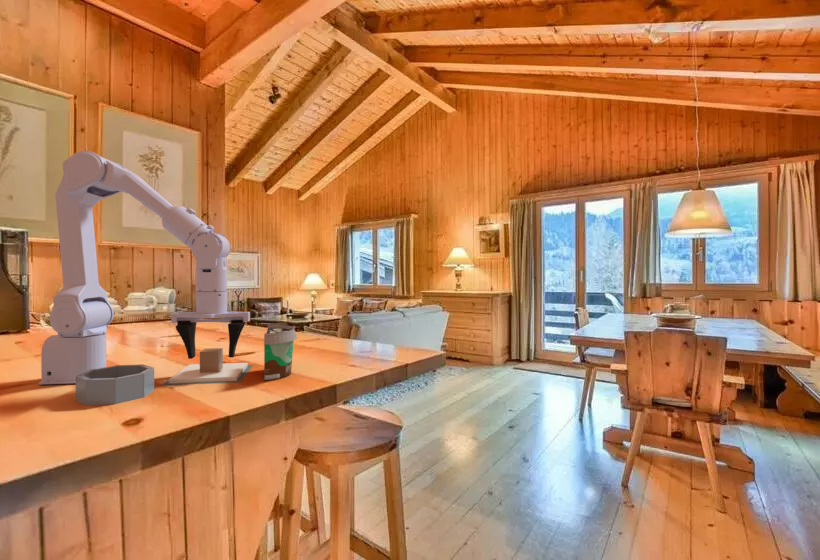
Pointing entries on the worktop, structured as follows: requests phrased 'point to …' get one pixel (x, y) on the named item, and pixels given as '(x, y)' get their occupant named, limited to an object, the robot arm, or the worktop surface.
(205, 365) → the lid
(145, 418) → the worktop surface
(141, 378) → the bowl
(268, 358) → the food container
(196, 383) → the mat
